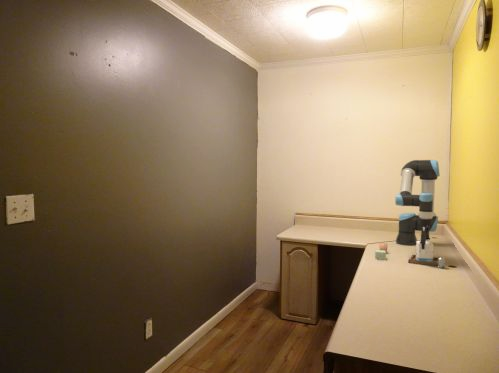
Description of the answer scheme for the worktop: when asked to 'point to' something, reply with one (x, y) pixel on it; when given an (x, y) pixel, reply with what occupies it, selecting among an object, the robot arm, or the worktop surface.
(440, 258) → the grey peg
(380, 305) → the worktop surface
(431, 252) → the ink box
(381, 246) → the terracotta cup
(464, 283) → the worktop surface
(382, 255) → the sage block
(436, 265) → the tray
